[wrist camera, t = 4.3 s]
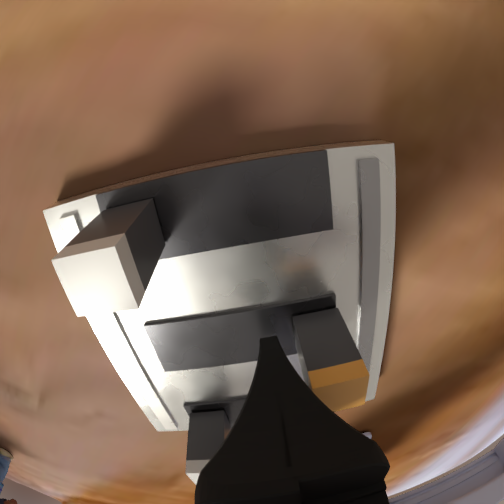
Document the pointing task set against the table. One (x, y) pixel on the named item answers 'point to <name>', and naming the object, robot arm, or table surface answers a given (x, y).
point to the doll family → (5, 472)
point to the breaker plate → (247, 269)
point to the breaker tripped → (330, 359)
